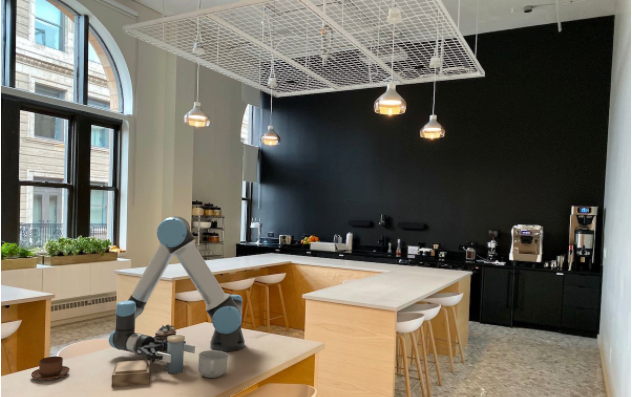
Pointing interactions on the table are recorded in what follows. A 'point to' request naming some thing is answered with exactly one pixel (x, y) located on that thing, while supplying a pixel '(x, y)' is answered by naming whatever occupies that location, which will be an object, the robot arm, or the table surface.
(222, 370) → the teacup
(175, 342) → the canister
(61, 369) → the cup and saucer
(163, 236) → the robot arm
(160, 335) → the cupcake
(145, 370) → the pedestal
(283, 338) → the table surface
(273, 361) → the table surface
